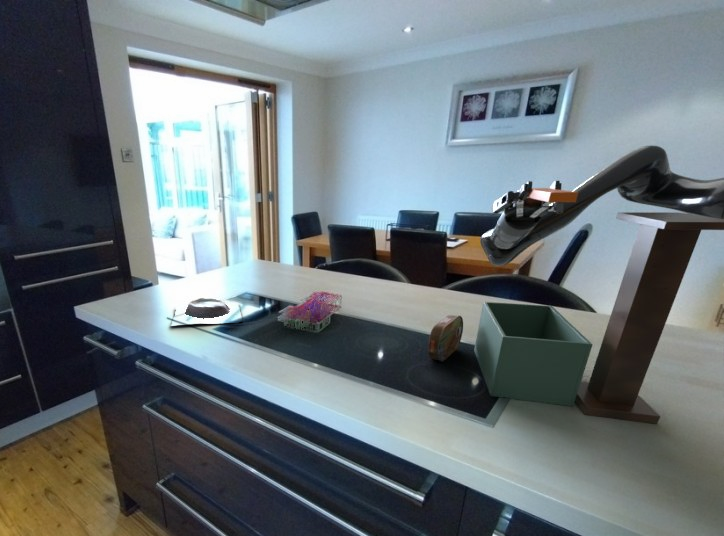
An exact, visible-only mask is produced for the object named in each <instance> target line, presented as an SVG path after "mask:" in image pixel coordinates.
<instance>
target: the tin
mask: <svg viewBox="0 0 724 536" xmlns="http://www.w3.org/2000/svg"><path fill="white" fill-rule="evenodd" d="M463 333H464V319H463V317H462V316H461V315H453V314H449V315H446V316H445V317H444V318H443V319H441V320H440V321H438V322H437V323H436V324H434V326H433V327H432V329H431V331H430V333H429V338H428V351H427V354H428V358H430V359H432V360H435V361H439V362H445V361H446V360H447V359H448V358H449V357H450V356H451V355H452V354H453V353H454V352H456V350H458V348H459V347H460V343H461V341H462V337H463Z"/></svg>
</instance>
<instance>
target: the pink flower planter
mask: <svg viewBox="0 0 724 536" xmlns="http://www.w3.org/2000/svg"><path fill="white" fill-rule="evenodd" d="M342 297H343V294H338V293H332V292H328V291H327V292H326V291H313V292H312V293H310V294H308V295H306V296H305V297H303V298H302V299H300V301H301V302H300V303H298V304H297V305H288V306H285V307H284V308H282V309H281V310H279V311H278V314H280V315H279V316H277V322H283V324H284V326H286V327H287V324H289V325H288V328H289V327H290V328H291V326H292V329H294V328H296V329H295V330H300V329H301V330H302V331H305V330H306V331H307V332H308V330H310V332H311V333H313V327H315V328H314V333H317V334H318V333H319V332H321V331H322V330H323V329H324V328H326V327H327V326H328V324H330V323H331V316H332V315H334V314H335V313H336V312H338V311H339V310H340V309H342V304H343V303H342V302H343V301H342V300H343V298H342ZM308 309H309V310H308ZM333 309H334V310H333ZM302 321H303V323H302ZM290 324H291V325H290ZM321 324H322V325H321ZM294 325H295V326H294ZM313 325H314V326H313ZM320 325H321V326H320ZM304 327H305V328H304ZM320 327H321V328H320ZM302 328H303V329H302ZM301 330H300V331H301Z"/></svg>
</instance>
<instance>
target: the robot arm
mask: <svg viewBox="0 0 724 536" xmlns="http://www.w3.org/2000/svg"><path fill="white" fill-rule="evenodd" d="M562 186H563V185H562V182H560V180H554V181H553V182H552V183H551V185H550V186H549V188H550V189H557V190H562ZM532 188H533V181H532V180H529V181H528V180H527V182H526V183H524V184H522V185H521V187H520V189H518V190H517V191H516V192H514V191H513V190H509V191H507V192H506V193H504V194H503V195H502V196H500V197H499V198H498V199H496V200H494V202H493V206H492V207H493V208H492V214H493V215H497V214H499V213H501V212H502V213H501V215H500V217H499V218H498V219H497V223H496V225H495V227H493V228H491V229H489V230H488V231H486V232H485V233H483V234H482V235H481V237H480V240H479V241H480V246H481V248H482V250H483V252H484V253H485V255H486V257H487V259H488V261H489V263H490V264H491V265H492V267H493V266H494V267H503V266H506V265H508V264H509V263H511V262H513V261H514V260H515V259H516V258H518V257H519V256H520V255H521V254H522V253H523V252H525V251H526V250H528V248H530V247H531V246H533V245H534V244H536V243H538V242H540V241H542V240H544V239H545V238H548V237H550V236H552V235H554V234H556V233H557V232H559V231H562V230H563V229H564V228H566V227H568V226H569V225H570V224H571V223H573V222H574V221H575V220H576V219H577V218H578V216H580V215H581V214H582V213H583V212H584V211H585V210H587V208H588V207H589V206H590V205H592V204H593V203H594V202H596V201H597V200H598V199H600V198H601V197H603V196H605V195H606V194H608V193H610V192H611V191H614V190H617V193H618V194H619V195H620V197H621V198H622V199H624V200H626V201H627V202H631V203H635V204H641V205H646V206H651V207H658V208H663V209H669V210H673V211H676V212H680V213H685V214H692V215H699V216H705V217H712V218H719V219H724V177H720V178H714V179H698V178H693V177H688V176H684V175H681V174H677V173H675V172H673V171H672V170H671V168H670V163H669V157H668V154H667V151H666V150H665V149H664V148H663V147H661V146H659V145H645V146H641V147H637V148H635V149H632V150H631V151H628V152H627V153H625V154H623V155H621V156H620V157H618V158H617V159H615V160H614V161H613V162H611V163H610V164H608V165H607V166H605V167H604V168H603V169H601V170H600V171H598V172H597V173H595V174H594V175H592V176H590V178H588V179H587V180H585V181H584V182H582V183H581V184H579V185H578V186H577V187H576V188H574V189H573V190H572V191H573V192H578V195H577V199H576V202H545V201H541V200H536V199H532V198H528V195H529V194H530V192H531V190H532Z"/></svg>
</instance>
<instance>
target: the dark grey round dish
mask: <svg viewBox="0 0 724 536" xmlns="http://www.w3.org/2000/svg"><path fill="white" fill-rule="evenodd" d="M225 303H226V302H224V301H223V300H221V299H217V298H204V297H200V298H197V299H193V300H190V302H189V303H188V304H187V305H188V307H187V309H186V312H185V314H186V315H189V316H192V317H197V318H203V319H204V318H214V317H219V316H223V315H225V314H228V313H229V312H230V311H229V310H230V308H229V307H228V306H227V305H226V304H225Z"/></svg>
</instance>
